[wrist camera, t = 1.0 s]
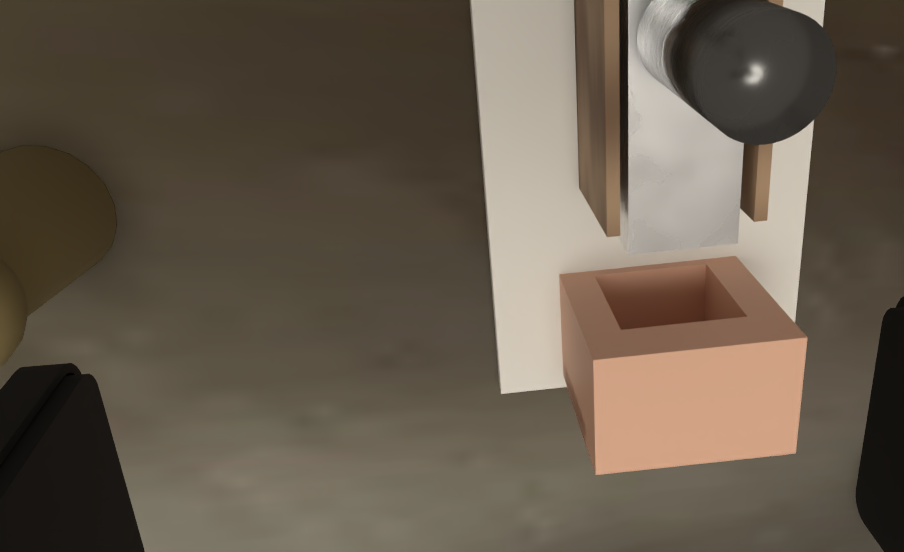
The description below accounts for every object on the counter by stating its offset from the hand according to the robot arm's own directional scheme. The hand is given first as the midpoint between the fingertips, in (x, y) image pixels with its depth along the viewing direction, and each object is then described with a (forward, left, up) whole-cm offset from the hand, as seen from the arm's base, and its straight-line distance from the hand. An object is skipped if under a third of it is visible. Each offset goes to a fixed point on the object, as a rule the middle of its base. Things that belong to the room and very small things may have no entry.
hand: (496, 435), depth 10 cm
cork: (+6, -17, -27) cm, 33 cm away
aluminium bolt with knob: (+3, +9, -25) cm, 27 cm away
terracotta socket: (+13, +9, -26) cm, 30 cm away
